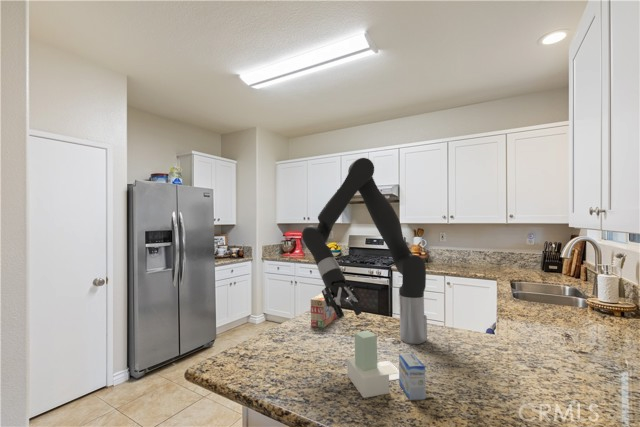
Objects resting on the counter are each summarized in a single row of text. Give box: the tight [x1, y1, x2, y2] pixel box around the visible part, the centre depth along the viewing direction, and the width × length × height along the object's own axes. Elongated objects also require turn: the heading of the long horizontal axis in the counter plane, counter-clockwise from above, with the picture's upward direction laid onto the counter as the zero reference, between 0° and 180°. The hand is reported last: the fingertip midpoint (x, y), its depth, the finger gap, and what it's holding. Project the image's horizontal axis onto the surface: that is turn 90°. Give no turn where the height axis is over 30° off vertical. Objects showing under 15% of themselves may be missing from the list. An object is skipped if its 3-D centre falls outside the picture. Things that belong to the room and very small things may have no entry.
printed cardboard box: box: [310, 292, 342, 329], centre depth 141 cm, size 21×6×12 cm, turn 155°
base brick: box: [346, 356, 390, 399], centre depth 84 cm, size 8×12×5 cm, turn 15°
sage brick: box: [354, 329, 378, 371], centre depth 84 cm, size 4×4×9 cm
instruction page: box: [377, 360, 399, 382], centre depth 91 cm, size 8×11×1 cm
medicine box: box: [398, 352, 427, 401], centre depth 80 cm, size 8×4×9 cm, turn 5°
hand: (350, 315), depth 96 cm, fingers open, 8 cm apart
